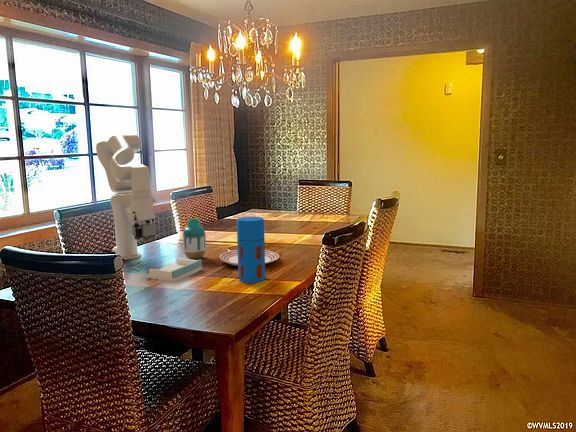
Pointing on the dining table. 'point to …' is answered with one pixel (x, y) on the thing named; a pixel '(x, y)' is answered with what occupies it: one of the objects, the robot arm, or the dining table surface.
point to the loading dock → (176, 270)
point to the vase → (194, 239)
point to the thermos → (251, 249)
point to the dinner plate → (232, 257)
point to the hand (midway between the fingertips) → (144, 235)
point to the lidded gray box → (145, 231)
